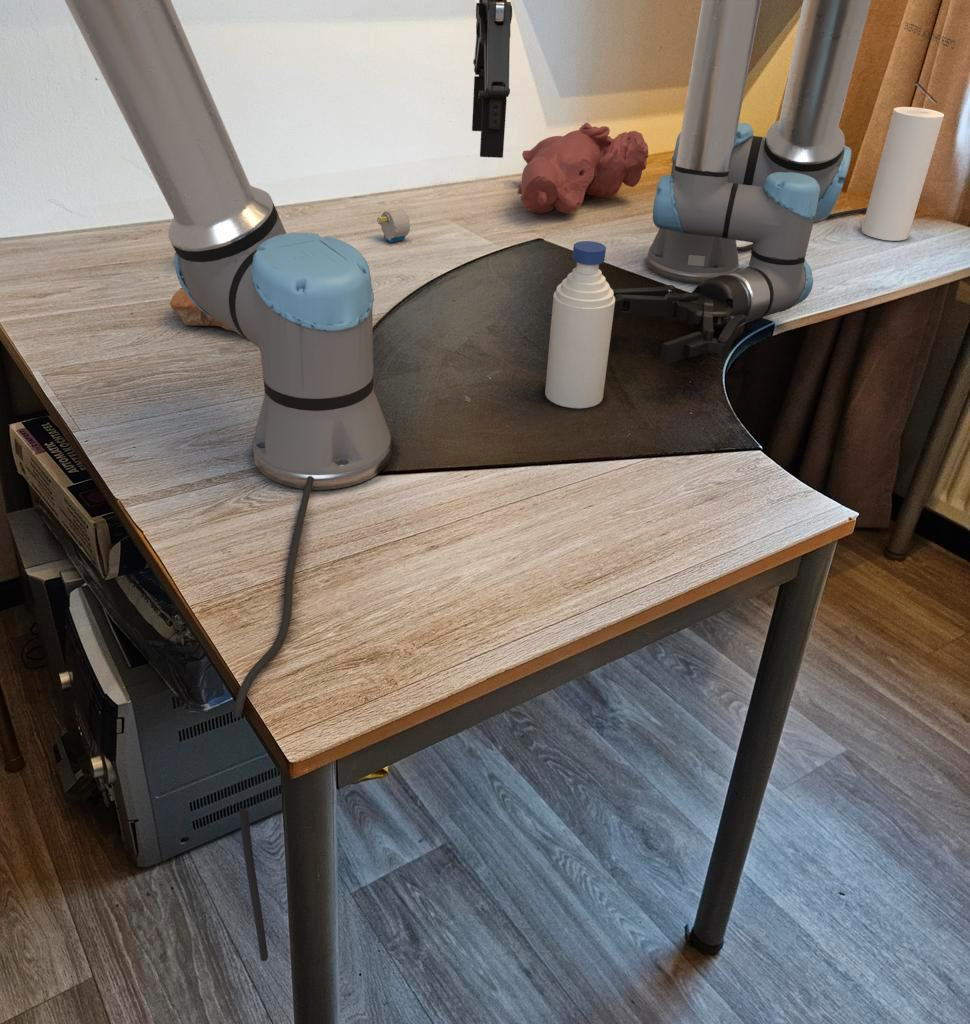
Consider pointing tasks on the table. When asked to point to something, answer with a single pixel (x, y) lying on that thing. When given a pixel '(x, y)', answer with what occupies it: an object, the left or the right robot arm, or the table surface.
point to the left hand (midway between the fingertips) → (486, 143)
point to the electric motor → (394, 225)
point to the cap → (589, 252)
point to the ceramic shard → (192, 311)
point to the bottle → (580, 338)
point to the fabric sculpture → (580, 168)
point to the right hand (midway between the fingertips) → (623, 335)
